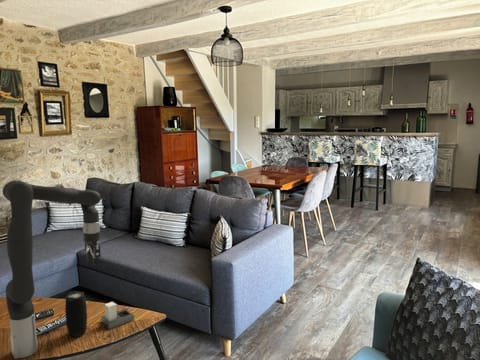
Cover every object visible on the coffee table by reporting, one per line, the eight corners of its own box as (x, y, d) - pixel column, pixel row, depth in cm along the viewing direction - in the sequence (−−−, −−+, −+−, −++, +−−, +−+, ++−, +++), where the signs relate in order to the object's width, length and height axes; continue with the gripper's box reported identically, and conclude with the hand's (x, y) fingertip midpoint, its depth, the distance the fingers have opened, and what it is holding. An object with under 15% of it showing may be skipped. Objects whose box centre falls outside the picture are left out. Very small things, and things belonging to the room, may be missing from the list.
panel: (109, 329, 177) (108, 324, 177) (101, 321, 184) (100, 316, 184) (134, 320, 186) (133, 315, 185) (125, 312, 193) (125, 307, 193)
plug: (109, 326, 180) (108, 307, 179) (105, 322, 183) (104, 304, 182) (119, 322, 184) (118, 303, 182) (115, 319, 186) (114, 300, 185)
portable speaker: (91, 329, 177) (89, 291, 174) (78, 339, 168) (76, 300, 165) (76, 326, 179) (74, 289, 177) (62, 337, 170) (60, 297, 168)
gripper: (78, 229, 179) (80, 260, 182) (89, 235, 169) (90, 268, 171) (93, 226, 184) (95, 257, 187) (105, 232, 174) (106, 265, 176)
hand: (92, 262), depth 179 cm, fingers open, 8 cm apart
